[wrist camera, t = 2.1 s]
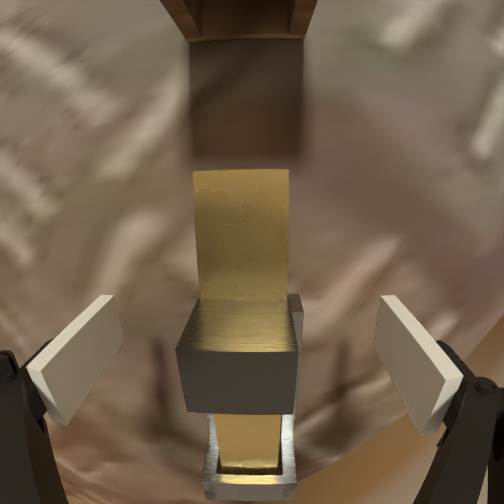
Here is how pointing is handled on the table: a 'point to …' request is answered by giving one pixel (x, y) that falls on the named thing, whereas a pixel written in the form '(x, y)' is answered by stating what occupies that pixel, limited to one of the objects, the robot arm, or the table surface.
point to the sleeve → (286, 482)
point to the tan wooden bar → (241, 316)
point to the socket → (240, 18)
